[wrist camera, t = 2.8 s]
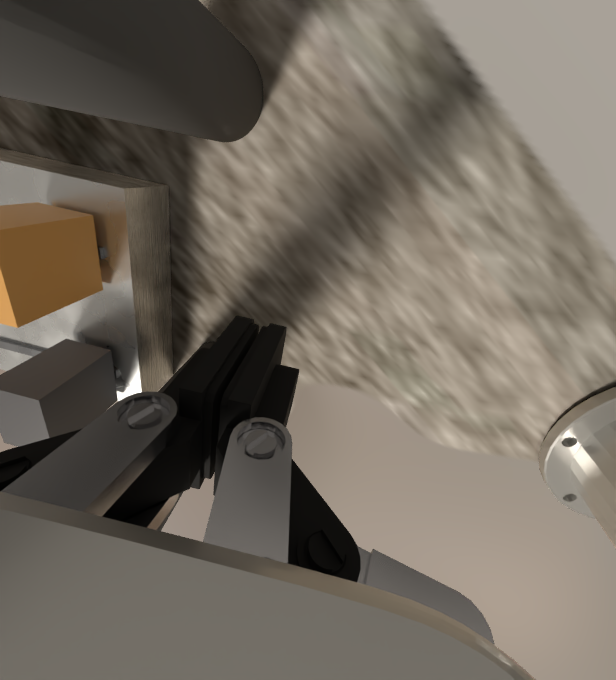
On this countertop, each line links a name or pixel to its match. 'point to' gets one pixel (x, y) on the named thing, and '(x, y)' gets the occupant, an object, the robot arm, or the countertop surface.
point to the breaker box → (103, 269)
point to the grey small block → (56, 392)
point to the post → (131, 64)
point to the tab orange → (45, 261)
